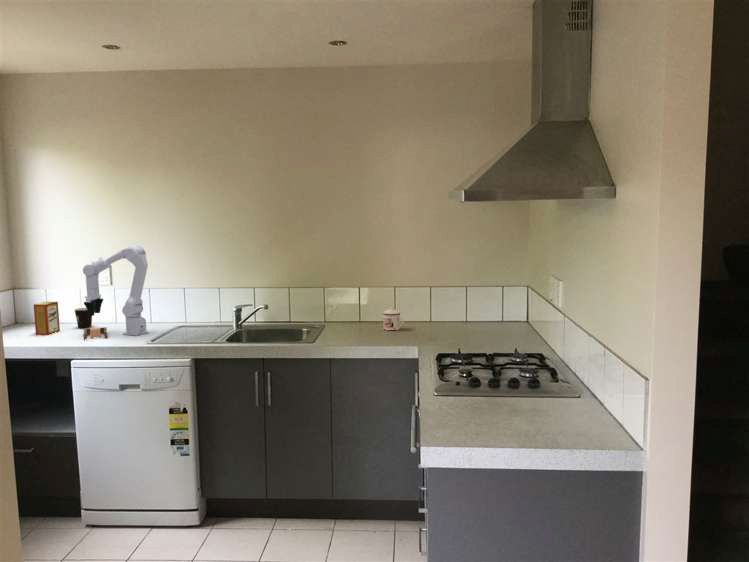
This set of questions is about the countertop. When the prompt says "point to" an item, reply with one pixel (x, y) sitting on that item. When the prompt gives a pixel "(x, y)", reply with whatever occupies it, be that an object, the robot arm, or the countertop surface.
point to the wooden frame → (102, 331)
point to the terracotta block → (95, 332)
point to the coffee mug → (83, 318)
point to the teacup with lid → (392, 319)
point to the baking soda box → (46, 318)
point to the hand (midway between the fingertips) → (94, 314)
